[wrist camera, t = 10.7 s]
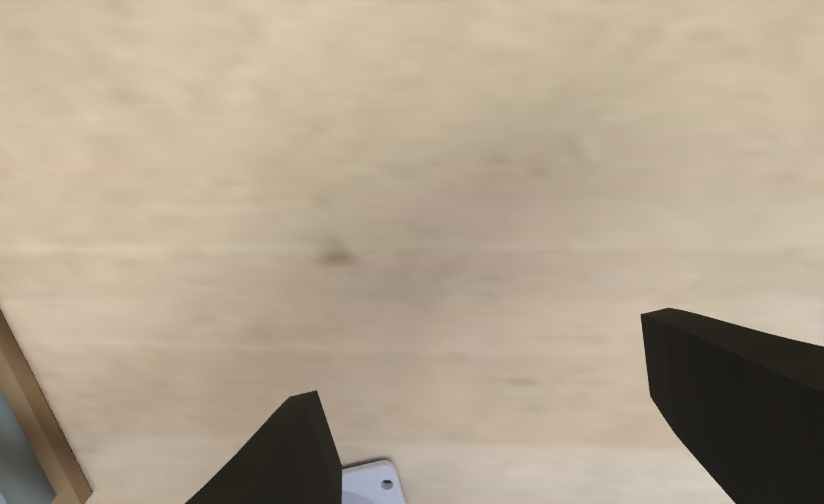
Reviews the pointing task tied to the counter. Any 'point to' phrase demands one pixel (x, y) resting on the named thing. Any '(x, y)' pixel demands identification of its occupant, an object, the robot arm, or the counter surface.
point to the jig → (32, 438)
